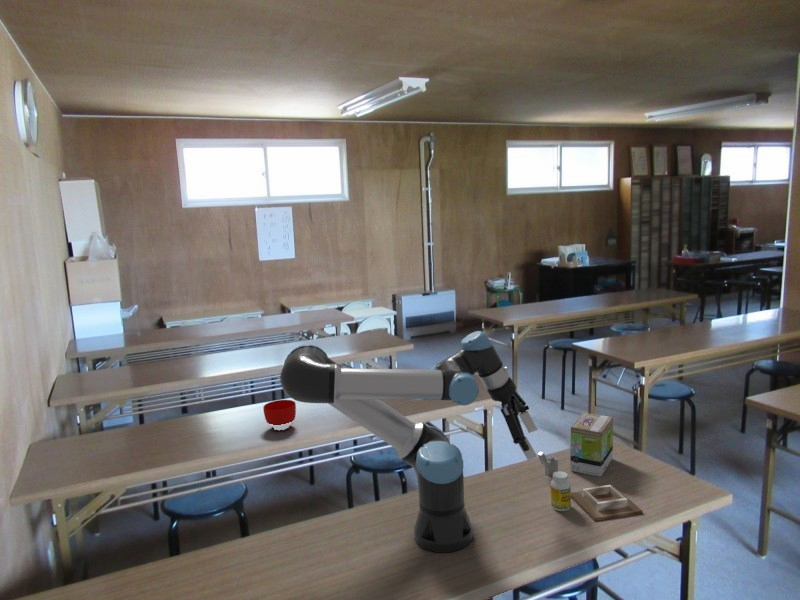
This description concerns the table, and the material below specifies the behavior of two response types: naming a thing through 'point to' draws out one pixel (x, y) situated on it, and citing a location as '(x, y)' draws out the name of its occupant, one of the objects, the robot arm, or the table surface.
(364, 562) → the table surface
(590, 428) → the tea box
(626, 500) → the socket board
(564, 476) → the supplement bottle
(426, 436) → the robot arm
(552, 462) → the lighter
